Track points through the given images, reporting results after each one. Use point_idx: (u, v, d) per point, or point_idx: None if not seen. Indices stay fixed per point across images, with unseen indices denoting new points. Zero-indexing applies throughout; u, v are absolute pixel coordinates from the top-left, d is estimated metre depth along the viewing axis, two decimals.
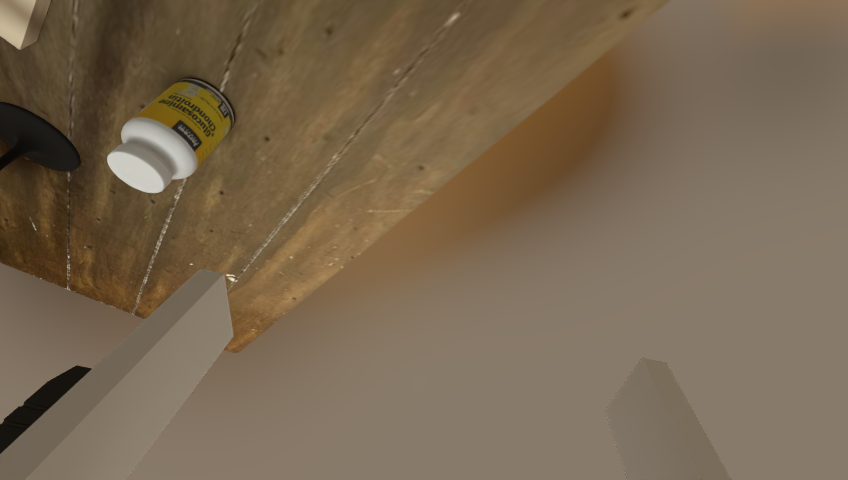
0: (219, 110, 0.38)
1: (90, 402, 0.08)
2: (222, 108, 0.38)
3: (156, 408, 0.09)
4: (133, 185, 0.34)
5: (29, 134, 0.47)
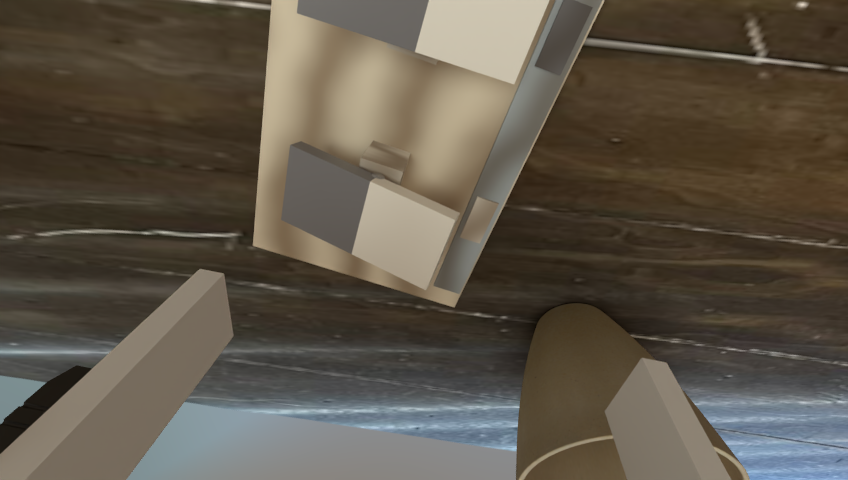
0: None
1: (90, 402, 0.08)
2: None
3: (156, 407, 0.09)
4: None
5: None
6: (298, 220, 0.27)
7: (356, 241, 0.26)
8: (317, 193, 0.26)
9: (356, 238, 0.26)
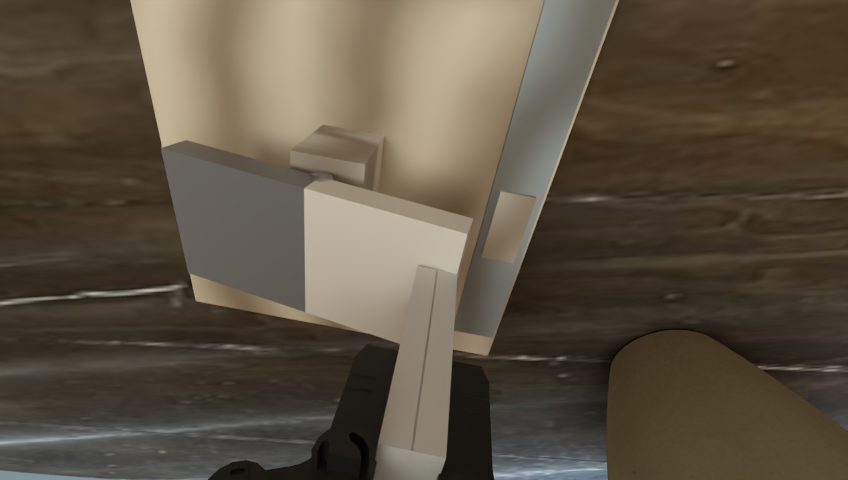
0: None
1: (418, 370, 0.10)
2: None
3: None
4: None
5: None
6: (213, 270, 0.17)
7: (307, 291, 0.16)
8: (227, 223, 0.15)
9: (305, 286, 0.16)
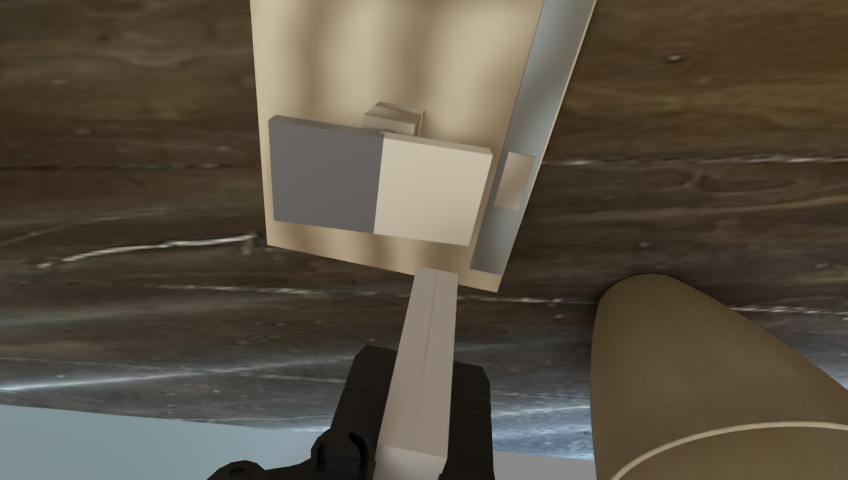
0: None
1: (417, 370, 0.10)
2: None
3: None
4: None
5: None
6: (298, 214, 0.22)
7: (377, 216, 0.22)
8: (317, 173, 0.21)
9: (376, 213, 0.22)
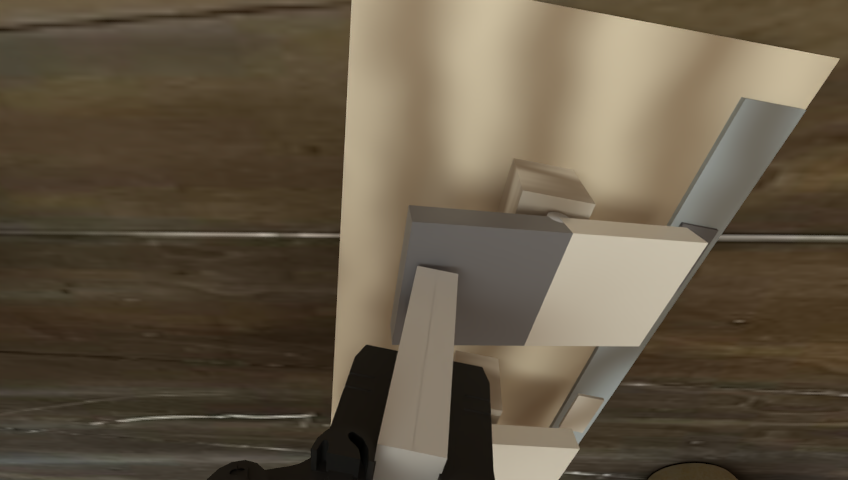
0: None
1: (417, 370, 0.10)
2: None
3: None
4: None
5: None
6: None
7: None
8: None
9: None
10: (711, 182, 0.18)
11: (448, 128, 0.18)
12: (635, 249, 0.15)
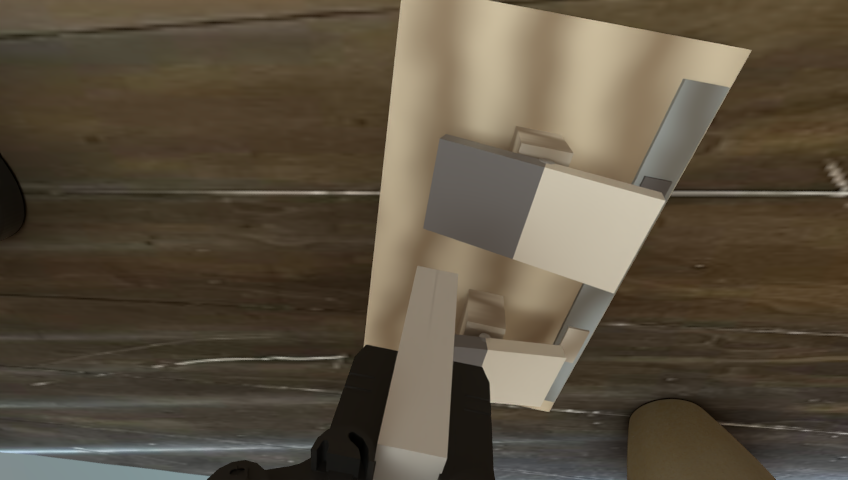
0: None
1: (417, 370, 0.10)
2: None
3: None
4: None
5: None
6: None
7: None
8: None
9: None
10: (665, 143, 0.24)
11: (467, 102, 0.24)
12: (597, 192, 0.19)
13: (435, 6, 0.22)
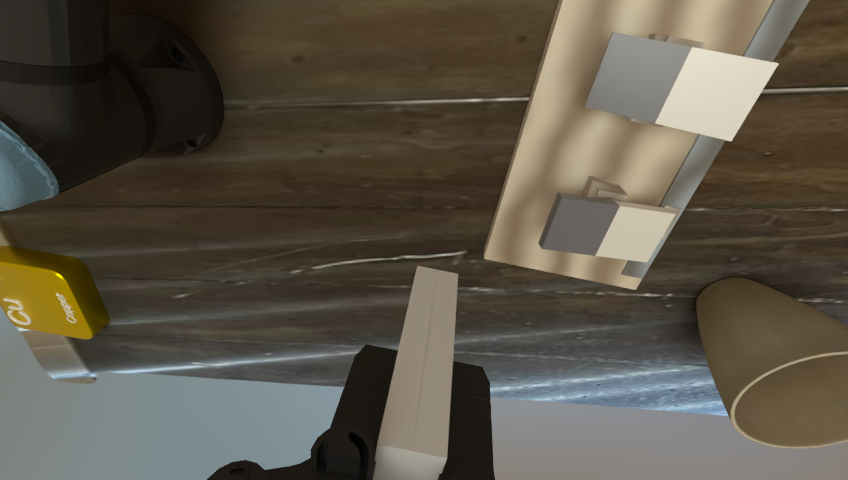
0: None
1: (417, 370, 0.10)
2: None
3: None
4: None
5: None
6: (556, 245, 0.39)
7: (601, 246, 0.39)
8: (576, 223, 0.38)
9: (601, 244, 0.39)
10: (758, 44, 0.33)
11: (616, 16, 0.34)
12: (729, 62, 0.29)
13: None
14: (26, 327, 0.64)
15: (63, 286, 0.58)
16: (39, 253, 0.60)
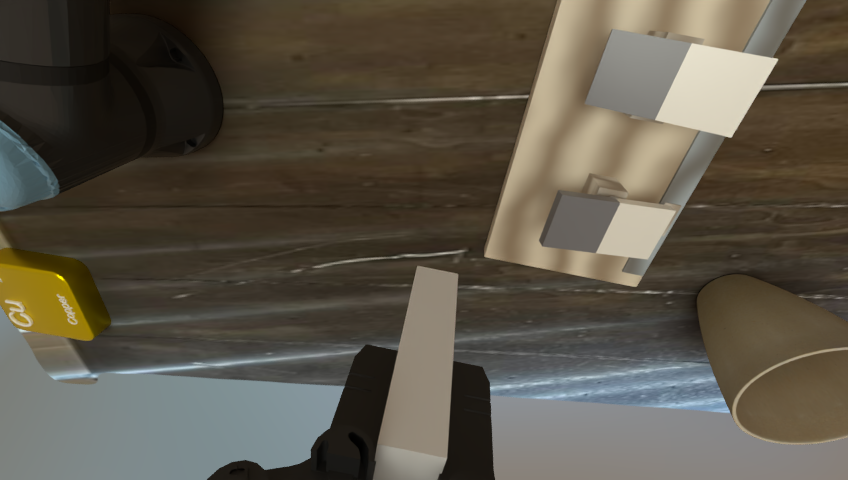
0: None
1: (417, 370, 0.10)
2: None
3: None
4: None
5: None
6: (557, 242, 0.39)
7: (601, 243, 0.39)
8: (577, 220, 0.38)
9: (601, 241, 0.39)
10: (758, 40, 0.33)
11: (615, 13, 0.34)
12: (728, 58, 0.29)
13: None
14: (27, 329, 0.65)
15: (64, 288, 0.58)
16: (40, 254, 0.60)
